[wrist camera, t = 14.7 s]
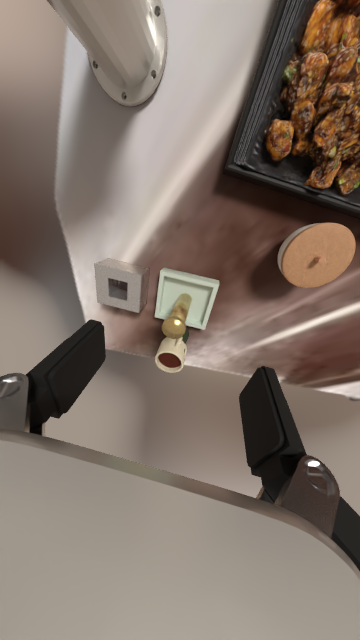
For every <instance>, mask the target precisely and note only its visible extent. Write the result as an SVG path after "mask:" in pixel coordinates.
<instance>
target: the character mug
mask: <svg viewBox="0 0 360 640" xmlns="http://www.w3.org/2000/svg"><path fill="white" fill-rule="evenodd" d="M188 336H189V332H188V330H187V328H186V330H185V334H184V335H183V336H182V337H181V338H179V339H171V338H168V337H166V338H165V339H164V340H163V341H162V342H161V344H160V347H159V349H158V351H157V354H156V356H155V363H156V365H157V366H158V368H159V369H161V370H163V371H165V372H168V373H175V372H179V371H180V370H181V369H182V368H183V365H184V360H185V356H186V352H187V347H186V345H185V343H186V341H187V339H188Z"/></svg>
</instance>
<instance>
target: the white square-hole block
mask: <svg viewBox="0 0 360 640" xmlns="http://www.w3.org/2000/svg"><path fill="white" fill-rule="evenodd" d="M94 266H95V278H96V290H97V302H98V303H102V304H105V305H109V306H113V307H117V308H121V309H125V310H129V311H133V312H137V313H140V311H141V310H142V309H143V308H144V306H145V305H146V304H147V298H148V287H149V276H150V268H147V267H143V266H139V265H135V264H131V263H126V262H122V261H118V260H114V259H110V258H107V259H105V260H102V261H100V262H97V263H95V264H94ZM120 281H123V282H127V283H128V290H127V289H123V288H120Z"/></svg>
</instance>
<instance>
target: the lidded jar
mask: <svg viewBox="0 0 360 640" xmlns="http://www.w3.org/2000/svg"><path fill="white" fill-rule="evenodd" d="M354 252H355V238H354V236H353V234H352V232H351V231H350V230H349V229H348V228H347V227H345V226H343V225H341V224H337V223H316V224H311V225H307V226H304V227H302V228H300V229H298V230H296V231H295V232H293V233H292V234H291V235H289V236H288V237H287V238H286V240H285V241H284V242H283V244H282V245H281V247H280V249H279V252H278V266H279V269H280V271H281V273H282V274H283V275H284V277H285V278H286V279H287V280H288V281H289V282H290V283H291V284H293V285H295V286H298V287H302V288H313V287H318V286H321V285H324V284H326V283H328V282H330V281H332V280H334V279H335V278H337V277H338V276H339V275H340V274H341V273H342V272H343V271H344V270H345V269H346V268H347V267H348V265H349V264H350V262H351V260H352V258H353V256H354Z"/></svg>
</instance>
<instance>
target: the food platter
mask: <svg viewBox="0 0 360 640" xmlns="http://www.w3.org/2000/svg"><path fill="white" fill-rule="evenodd" d="M276 64H277V65H276ZM331 118H332V119H331ZM275 167H276V168H275ZM273 172H274V173H273ZM224 174H226V175H229V176H232V177H235V178H238V179H241V180H244V181H247V182H250V183H253V184H256V185H259V186H262V187H265V188H268V189H271V190H274V191H277V192H280V193H283V194H287V195H290V196H293V197H296V198H299V199H302V200H305V201H308V202H311V203H314V204H317V205H320V206H323V207H326V208H329V209H332V210H335V211H338V212H341V213H344V214H347V215H350V216H353V217H356V218H359V219H360V0H278V4H277V7H276V10H275V13H274V16H273V19H272V22H271V25H270V29H269V32H268V35H267V38H266V41H265V44H264V47H263V50H262V54H261V57H260V60H259V63H258V66H257V69H256V72H255V75H254V79H253V82H252V85H251V88H250V91H249V94H248V97H247V100H246V104H245V107H244V110H243V113H242V116H241V119H240V122H239V126H238V129H237V132H236V135H235V138H234V141H233V144H232V147H231V151H230V154H229V157H228V160H227V163H226V166H225V169H224Z"/></svg>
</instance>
